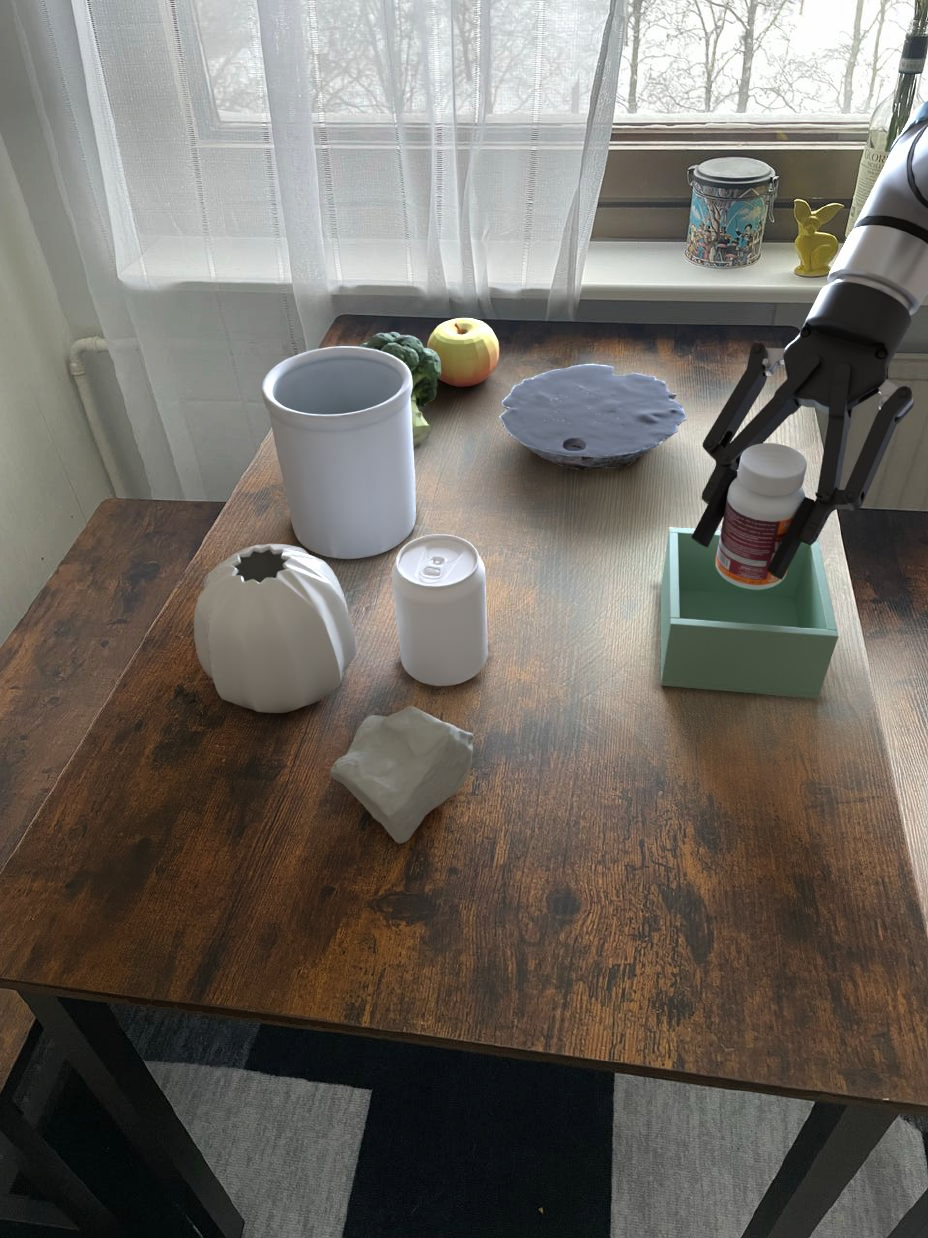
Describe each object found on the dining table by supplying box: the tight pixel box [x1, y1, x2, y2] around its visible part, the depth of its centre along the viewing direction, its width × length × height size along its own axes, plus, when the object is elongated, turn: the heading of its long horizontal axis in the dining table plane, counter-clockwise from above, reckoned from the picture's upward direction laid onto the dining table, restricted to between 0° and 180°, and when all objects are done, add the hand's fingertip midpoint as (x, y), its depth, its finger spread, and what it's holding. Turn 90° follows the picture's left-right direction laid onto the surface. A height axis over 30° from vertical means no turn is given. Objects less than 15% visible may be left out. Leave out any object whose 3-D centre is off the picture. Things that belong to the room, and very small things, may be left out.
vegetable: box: [358, 331, 441, 447], centre depth 115 cm, size 12×13×15 cm
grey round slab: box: [498, 363, 687, 471], centre depth 111 cm, size 22×22×5 cm
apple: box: [426, 317, 500, 388], centre depth 124 cm, size 10×10×8 cm
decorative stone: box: [329, 705, 475, 845], centre depth 73 cm, size 11×9×10 cm
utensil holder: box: [261, 345, 417, 560], centre depth 97 cm, size 15×15×18 cm
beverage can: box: [390, 533, 489, 687], centre depth 82 cm, size 8×8×12 cm
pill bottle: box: [716, 442, 808, 590], centre depth 77 cm, size 6×6×11 cm
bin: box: [660, 526, 839, 700], centre depth 84 cm, size 14×14×8 cm
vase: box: [193, 542, 358, 714], centre depth 81 cm, size 14×14×13 cm
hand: (736, 558), depth 77 cm, fingers closed on pill bottle, 6 cm apart
